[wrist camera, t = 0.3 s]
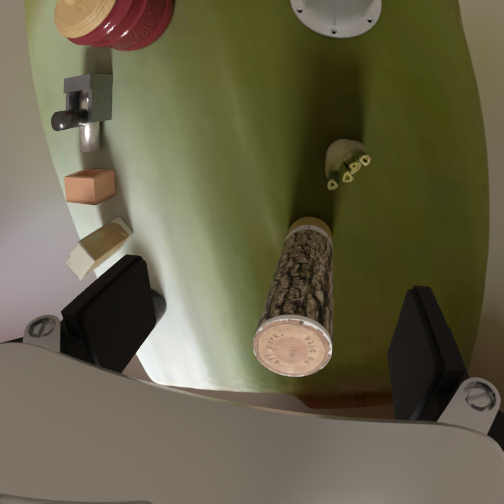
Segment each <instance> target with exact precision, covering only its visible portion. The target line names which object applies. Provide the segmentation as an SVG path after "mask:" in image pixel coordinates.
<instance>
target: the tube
mask: <svg viewBox="0 0 504 504" xmlns="http://www.w3.org/2000/svg"><path fill="white" fill-rule="evenodd" d="M51 125H52V128H53V129H54V130H55V131H60V130H65V129H69V128H74V127H79V139H80V152H92V151H97V150H100V131H99V122H93V123H88V90H81V91H80V95H79V109H73V110H65V111H59V112H55V113H54V114H53V116H52V119H51Z"/></svg>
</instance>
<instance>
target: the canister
mask: <svg viewBox="0 0 504 504" xmlns="http://www.w3.org/2000/svg"><path fill="white" fill-rule="evenodd" d="M173 9H174V5H173V0H58V1H57V4H56V8H55V24H56V27H57V29H58V31H59V32H60V33H61V34H62V35H63V36H65V37H67V38H68V39H69V40H70V41H71V42H73V43H75V44H78V45H91V46H94V47H109V48H113V49H116V50H121V51H133V50H139V49H142V48H145V47H147V46H149V45H150V44H152V43H154V42H155V41H156V40H157V39H158V38H159V37H160V36H161V35H162V34H163V33H164V32H165V30H166V29H167V27H168V25H169V24H170V21H171V19H172V15H173Z"/></svg>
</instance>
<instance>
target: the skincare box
mask: <svg viewBox="0 0 504 504" xmlns="http://www.w3.org/2000/svg"><path fill="white" fill-rule="evenodd" d="M132 234H133V232H132V230H131V229H130V228H129V227H128V226H127V225H126V223H125V222H124V221H123V220H122V219H121V218H120V217H117V218H115V219H114V220H112V221H110V222H109V223H107V224H105V225H104V226H102V227H101V228H99V229H97V230H96V231H94V232H93V233H91V234H89V235H88V236H86V237H85V238H83V239H81V240H80V241H78V243H77V244H76V246H75V247H74V249H73V250H72V252H71V253H70V255H69V257H68V258H67V260H66V261H65V262H66V264H67V265H68V266H69V268H70V269H71V270H72V271H73V272H74V274H75V275H76V276H77V277H78V278H79V279H80V280H82V279H83V278H84V277H86V276H87V275H88V274H89V273H90V272H92V271H93V270H94V269H95V268H97V267H98V266H99V265H100V264H102V263H103V262H104V261H106V260H107V259H108V258H109V257H111V256H112V255H113V254H115V253H116V252H117V251H118V250H119V249H120V248H121V247H122V246H123V245H124V244H125V243H126V242H127V240H128V239H129V238H130V237H131V235H132Z"/></svg>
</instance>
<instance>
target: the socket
mask: <svg viewBox="0 0 504 504" xmlns="http://www.w3.org/2000/svg"><path fill="white" fill-rule="evenodd" d="M64 180H65V190H66V199H67V202H72V203H81V204H89V205H97V204H99V203H101V202H103V201H105V200H107V199H108V198H110V197H112V196H114V195H116V191H115V171H114V170H99V169H84V170H81V171H79V172H76V173H73V174H71V175H68V176H66V177H64Z"/></svg>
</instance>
